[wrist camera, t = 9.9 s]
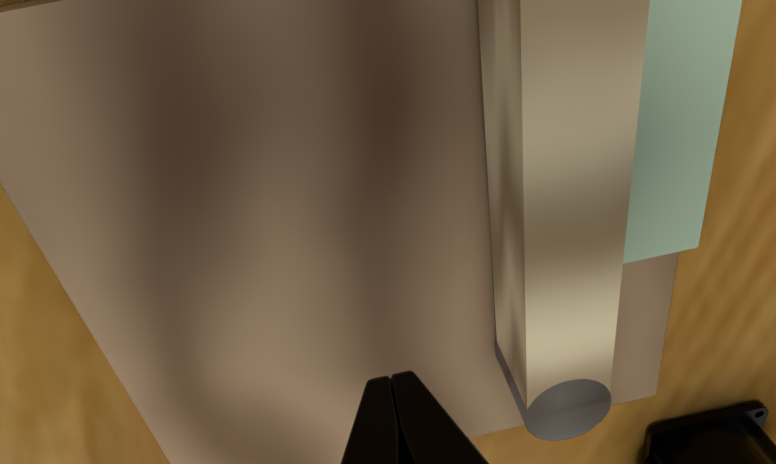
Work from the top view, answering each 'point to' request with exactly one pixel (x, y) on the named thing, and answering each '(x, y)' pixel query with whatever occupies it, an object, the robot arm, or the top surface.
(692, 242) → the block
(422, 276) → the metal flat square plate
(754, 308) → the top surface
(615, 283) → the fold-out leg
